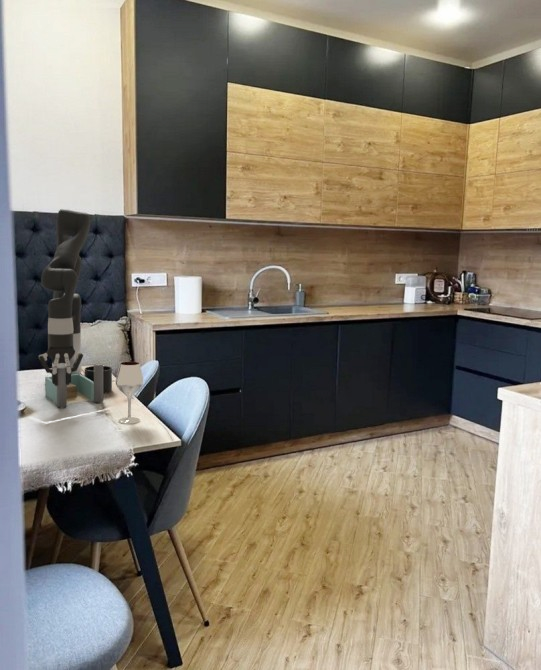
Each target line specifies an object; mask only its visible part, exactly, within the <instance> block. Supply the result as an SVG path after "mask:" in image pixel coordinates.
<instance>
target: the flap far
mask: <svg viewBox="0 0 541 670" xmlns="http://www.w3.org/2000/svg"><path fill="white" fill-rule="evenodd" d="M93 366H94V383H93V382H92V383H91V401H92V402H94V403H99V404H101V403H103V402H104V394H103V366H104V364H102V363H94V364H93ZM91 401H90V402H91Z"/></svg>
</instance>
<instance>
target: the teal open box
mask: <svg viewBox="0 0 541 670" xmlns="http://www.w3.org/2000/svg"><path fill="white" fill-rule="evenodd" d="M44 381H45V382H44V385H45V392H44V393H45V396H46V397H47V398H49V400H51V401H52V402H54V403H55V404H56V405H57V386H55V385H54V384H53V383H52V375H51V376H45V378H44ZM92 382H93V381H91V380H90V379H88V378H86V377H85V375H83V374H82V373H81V374H73V375H71V383H69V384H73V385H76V386H77V397H74V398H69V399H67V404H73V403H74V404H75V403H83V402H89V401H90V402H91V383H92Z"/></svg>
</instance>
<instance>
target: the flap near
mask: <svg viewBox="0 0 541 670" xmlns="http://www.w3.org/2000/svg"><path fill="white" fill-rule="evenodd" d="M56 374H57V404H56V408H60V409H64V408H65V407H67V406H68V405H67V380H66V368H65V367H59V368H57V371H56Z"/></svg>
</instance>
